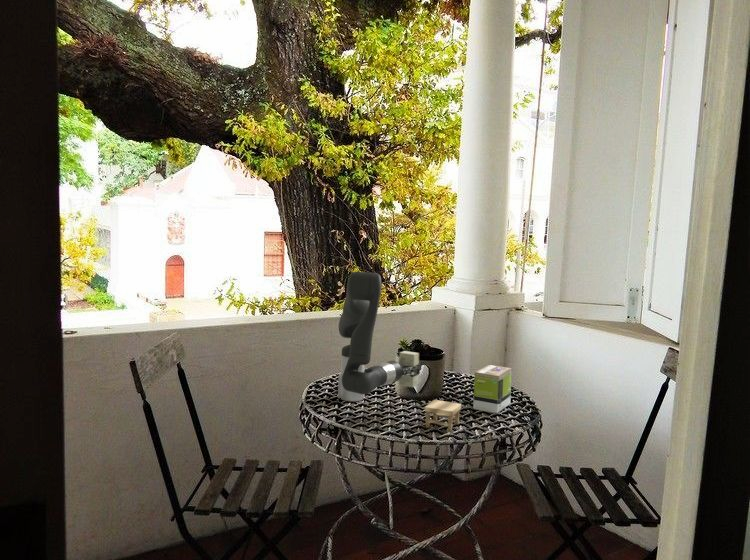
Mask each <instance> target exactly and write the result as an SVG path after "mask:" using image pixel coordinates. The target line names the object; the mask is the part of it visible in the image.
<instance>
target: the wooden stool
mask: <svg viewBox="0 0 750 560" xmlns="http://www.w3.org/2000/svg"><path fill="white" fill-rule="evenodd" d="M461 409H462V403H457V402H452V401H446V400H445V401H444V400H438V399H433V400H432V401H431V402H429V403H428V404H427V405H426V406H424V412H425V424H424V425H425V428H429V427H431V424H434V425H441V426H445V427H447V431H449V432H452V431H453V423H454V424H455V423H456V424H455V425H459V424H458V423H460V411H461ZM431 413H433V414H432V419H431ZM439 417H440V418H445V419H447V422H446V421H440V420H438V418H439ZM453 420H454V422H453Z"/></svg>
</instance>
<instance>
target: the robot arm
mask: <svg viewBox="0 0 750 560" xmlns="http://www.w3.org/2000/svg"><path fill="white" fill-rule="evenodd" d="M381 293H382V277H381V275H380V274H379V273H376V272H369V271H368V272H367V271H366V272H365V271H353V272H351V273H350V274H349V275H348V279H347V283H346V293H345V294H346V295H345V299H344V303H343V307H342V314H341V315H340V317H339V322H338V332H339V335H340V336H341V337H342V338H346V339H350V342H349V343H350V344H347V345H345V346H343V347H341V359H340V361H341V362H340V363H341V364H340V373H339V374H338V381H337V382H338V383H337V384H338V385H337V398H338V399H340V398H341V399H340V400H342V401H345V402H360V401H362V400H364V395H368V394H370V393H372V392H373V391H374V390H376V389H377V388H379V387H381V386H388V385H391V384H393V383H396V382H399V380H400V378H401V377H402V376H404V375H410V377H414V376H416V375H418V376H419V375H420V374H421V370H422V364H420V363H419V364H418V365H415V366H411V365H400V364H399V361H397V360H390V361H385V362H382V363H378V364H376V365H374V366H370V367H368V368H366V369H365V367H366V365H368V364H369V363H370V361H371V355H372V345H373V344H372V342H373V337H374V331H375V330H374V329H375V326H376V320H377V315H378V310H379V306H380V301H381V300H380V299H381ZM407 367H408V369H407ZM412 368H413V369H412Z"/></svg>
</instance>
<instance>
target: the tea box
mask: <svg viewBox="0 0 750 560" xmlns="http://www.w3.org/2000/svg"><path fill="white" fill-rule="evenodd" d="M512 371H513V370H512V367H505V366H500V365H491V364H488V365H486V366H484V367H482V368H480V369H478V370H476V371H475V372H474V379H473V381H474V382H473V383H474V384H473V402H472V403H473V407H472V408H473V410H478V411H482V412H483V411H484V412H487V413H492V414H498V413H500V412H501V411H502V410H504V409H505V408H506V407H508V406H510V405H511V399H512V398H511V397H512V396H511V393H512V392H511V391H512Z"/></svg>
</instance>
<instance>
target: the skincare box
mask: <svg viewBox="0 0 750 560" xmlns="http://www.w3.org/2000/svg"><path fill="white" fill-rule="evenodd" d="M398 353H399V354H398V355H399V357H398V358H399V360H398V362H399V364H400V365H411V366H415V365H418V364H420V352H415V351H408V350H403V351H400V352H398ZM407 369H408V367H407ZM412 369H413V368H412ZM418 385H419V375H416V376H414V377H410V375H404V376H402V377H401V378H400V380H398V386H403V387H409V388H414V387H417V386H418Z"/></svg>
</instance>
